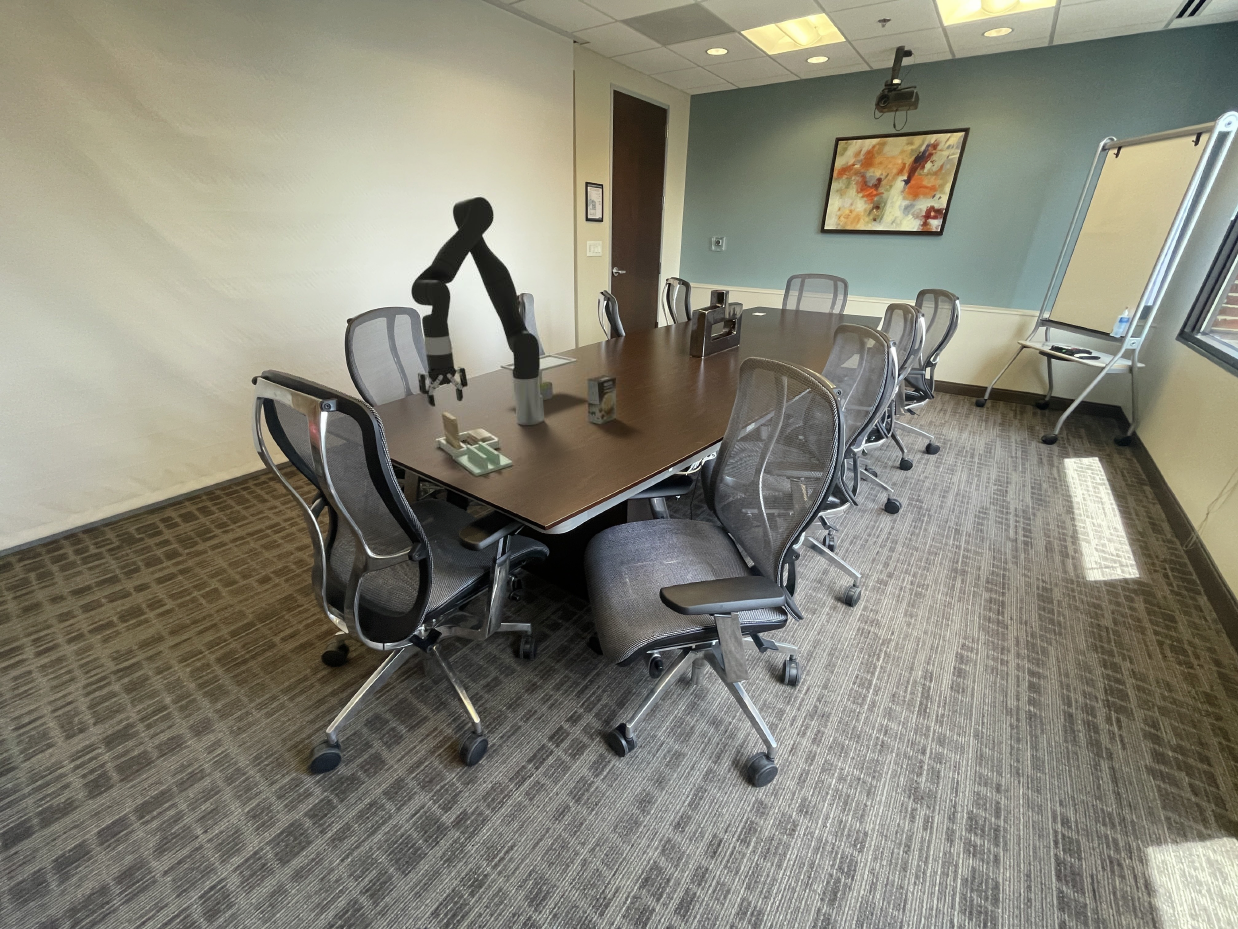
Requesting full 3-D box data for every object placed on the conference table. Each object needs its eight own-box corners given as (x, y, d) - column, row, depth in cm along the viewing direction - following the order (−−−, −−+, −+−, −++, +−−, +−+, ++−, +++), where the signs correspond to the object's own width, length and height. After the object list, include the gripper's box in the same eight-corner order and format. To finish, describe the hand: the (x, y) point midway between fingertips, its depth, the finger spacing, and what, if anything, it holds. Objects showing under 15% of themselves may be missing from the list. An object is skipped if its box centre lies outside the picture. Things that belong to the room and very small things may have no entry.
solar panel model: (530, 409, 199) (528, 372, 193) (503, 400, 209) (499, 365, 203) (578, 393, 219) (577, 359, 212) (551, 386, 229) (549, 353, 222)
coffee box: (600, 424, 183) (599, 382, 176) (587, 421, 187) (586, 379, 180) (616, 418, 190) (616, 377, 183) (603, 414, 193) (603, 374, 186)
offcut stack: (480, 437, 171) (479, 428, 170) (493, 445, 165) (491, 435, 163) (467, 441, 168) (465, 431, 167) (479, 449, 162) (477, 439, 161)
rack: (481, 434, 174) (480, 428, 173) (500, 446, 164) (500, 439, 163) (436, 446, 164) (435, 439, 163) (454, 459, 155) (453, 452, 154)
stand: (491, 450, 161) (489, 437, 159) (512, 464, 151) (511, 451, 150) (455, 460, 154) (453, 447, 152) (476, 476, 144) (474, 462, 143)
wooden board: (451, 446, 165) (446, 411, 160) (461, 453, 159) (456, 418, 154) (447, 447, 164) (441, 412, 159) (457, 455, 158) (452, 419, 153)
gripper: (456, 346, 155) (463, 396, 162) (410, 351, 146) (419, 404, 153) (467, 350, 150) (473, 401, 156) (419, 356, 141) (428, 410, 148)
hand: (446, 403), depth 155 cm, fingers open, 8 cm apart
